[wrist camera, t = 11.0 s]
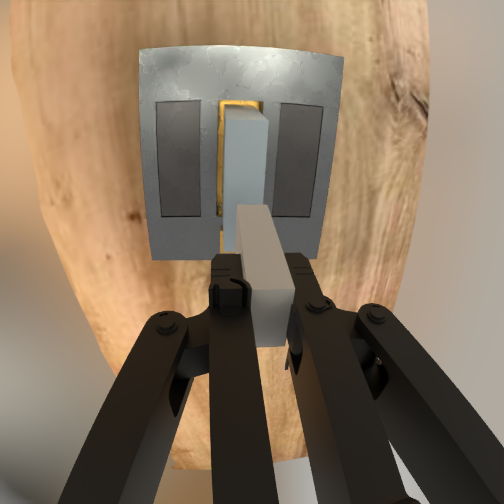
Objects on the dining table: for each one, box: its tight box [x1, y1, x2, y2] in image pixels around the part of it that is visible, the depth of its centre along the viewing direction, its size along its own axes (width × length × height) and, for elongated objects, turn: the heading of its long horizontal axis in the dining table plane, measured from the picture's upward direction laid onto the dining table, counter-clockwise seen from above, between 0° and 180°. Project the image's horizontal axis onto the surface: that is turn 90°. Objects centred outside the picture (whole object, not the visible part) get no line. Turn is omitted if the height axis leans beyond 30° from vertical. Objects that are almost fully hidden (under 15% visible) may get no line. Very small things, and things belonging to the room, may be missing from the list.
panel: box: [222, 104, 269, 252], centre depth 24 cm, size 9×2×10 cm, turn 177°
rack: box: [139, 45, 344, 260], centre depth 27 cm, size 20×18×4 cm
